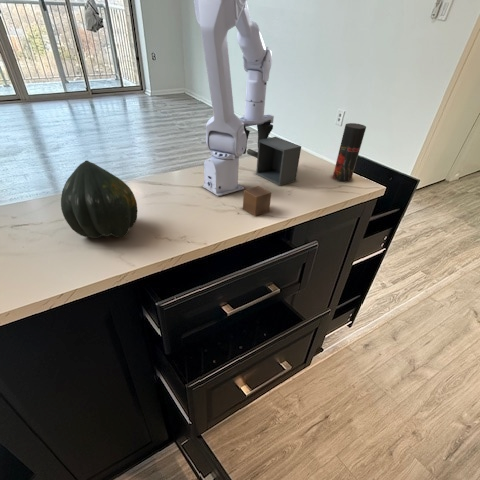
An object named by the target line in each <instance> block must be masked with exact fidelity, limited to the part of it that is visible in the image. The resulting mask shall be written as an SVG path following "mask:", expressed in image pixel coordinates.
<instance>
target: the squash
mask: <svg viewBox="0 0 480 480" xmlns="http://www.w3.org/2000/svg"><path fill="white" fill-rule="evenodd" d="M137 202H138V201H137V199H136V197H135V194H134V192H133V191H132V189H131V188H130V186H129V185H128V184H127V183H125V182H124V180H122V179H120V178H119V177H118V176H116V175H114V174H112V173H111V172H109V171H107V170H106V169H105V168H102V167H101V166H99V165H98V164H96V163H94V162H91V161H89V160H88V159H87V160H84V161H83V162H82V163H80V164H79V165H78V166H77V167H76V168H75V169H74V171H73V172H72V173H71V174H70V175H69V177H68V178H67V179H66V181H65V183H64V185H63V188H62V191H61V197H60V208H61V209H60V210H61V213H62V216H63V217H64V219H65V222H66V224H68V226H69V227H70V228H71V230H72V231H74V232H75V233H76V234H78V235H79V236H81V237H84V238H93V239H98V238H100V237H102V236H103V237H109V236H110V235H112V236H114V237H116V238H122V237H124V236H126V235H127V234H128V233H129V230H130V229H131V228H133V227H134V225H135V224H136V222H137V220H138V219H137V217H138V212H139V211H138V203H137Z"/></svg>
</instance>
